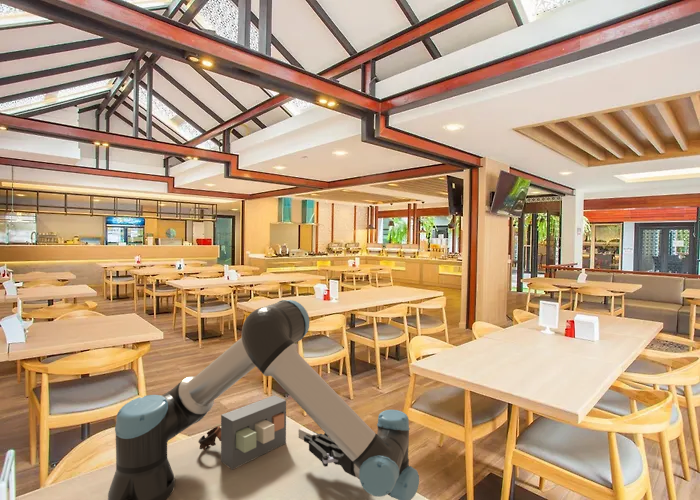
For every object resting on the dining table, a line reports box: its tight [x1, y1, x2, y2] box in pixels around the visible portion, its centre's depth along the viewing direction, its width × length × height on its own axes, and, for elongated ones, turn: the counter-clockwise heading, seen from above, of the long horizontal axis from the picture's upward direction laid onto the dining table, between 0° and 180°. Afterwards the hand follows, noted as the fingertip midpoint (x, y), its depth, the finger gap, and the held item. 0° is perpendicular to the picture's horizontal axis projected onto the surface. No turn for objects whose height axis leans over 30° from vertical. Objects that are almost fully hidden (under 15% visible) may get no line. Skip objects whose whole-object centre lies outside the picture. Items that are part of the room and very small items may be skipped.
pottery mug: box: [198, 425, 221, 452], centre depth 122 cm, size 12×10×8 cm
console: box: [220, 395, 287, 470], centre depth 121 cm, size 20×6×14 cm, turn 139°
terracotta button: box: [272, 413, 284, 432], centre depth 125 cm, size 4×5×4 cm
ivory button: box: [255, 419, 274, 444], centre depth 118 cm, size 4×5×4 cm
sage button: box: [236, 427, 256, 453], centre depth 113 cm, size 4×5×4 cm
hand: (300, 432), depth 117 cm, fingers closed
